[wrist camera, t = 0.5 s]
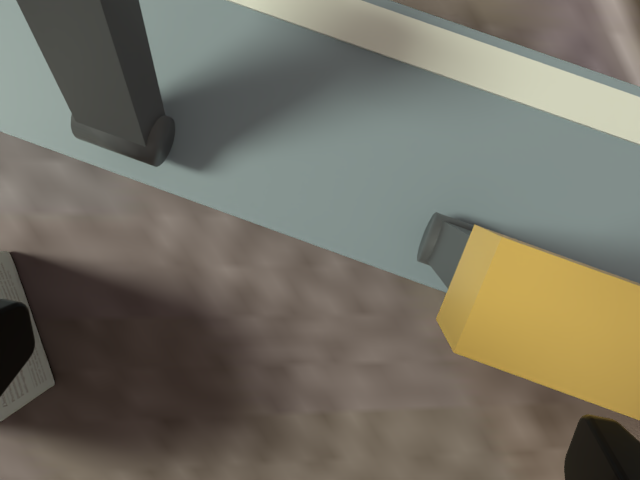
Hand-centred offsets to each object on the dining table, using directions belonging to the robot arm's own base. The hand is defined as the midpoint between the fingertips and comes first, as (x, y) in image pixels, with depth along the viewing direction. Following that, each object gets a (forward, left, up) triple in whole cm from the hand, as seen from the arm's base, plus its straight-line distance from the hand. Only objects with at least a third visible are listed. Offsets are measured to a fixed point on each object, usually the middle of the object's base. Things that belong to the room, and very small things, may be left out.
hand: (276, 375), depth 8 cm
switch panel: (+4, +4, -15) cm, 16 cm away
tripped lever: (+4, -4, -12) cm, 13 cm away
